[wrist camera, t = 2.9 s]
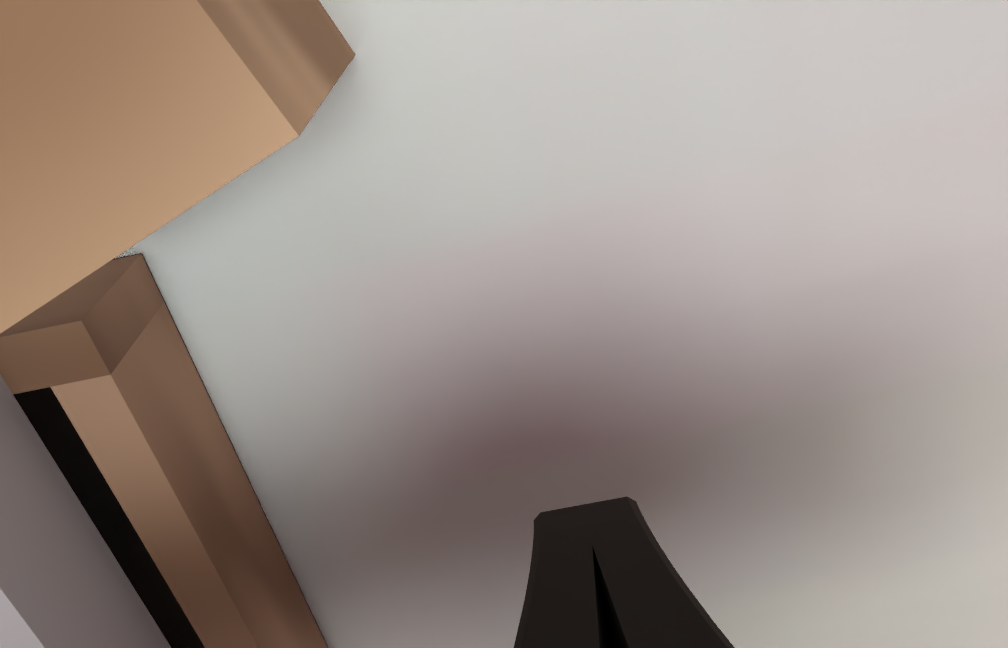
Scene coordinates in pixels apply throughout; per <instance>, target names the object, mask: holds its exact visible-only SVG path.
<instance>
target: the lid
mask: <svg viewBox="0 0 1008 648" xmlns="http://www.w3.org/2000/svg"><path fill="white" fill-rule="evenodd" d="M0 648H171V646H170V645H169V643H168V642H167V640H166V638H165V637H164V635H163V634H162V632H161V630H160V629H159V627H158V626H157V624H156V622H155V621H154V619H153V618H152V616H151V614H150V613H149V611H148V610H147V608H146V606H145V605H144V603H143V602H142V600H141V598H140V597H139V595H138V594H137V592H136V590H135V589H134V587H133V586H132V584H131V582H130V581H129V579H128V578H127V576H126V574H125V573H124V571H123V570H122V568H121V566H120V565H119V563H118V562H117V560H116V558H115V557H114V555H113V554H112V552H111V550H110V549H109V547H108V546H107V544H106V542H105V541H104V539H103V538H102V536H101V534H100V533H99V531H98V530H97V528H96V526H95V525H94V523H93V522H92V520H91V518H90V517H89V515H88V514H87V512H86V510H85V509H84V507H83V506H82V504H81V502H80V501H79V499H78V498H77V496H76V494H75V493H74V491H73V490H72V488H71V487H70V485H69V483H68V482H67V480H66V479H65V477H64V475H63V474H62V472H61V471H60V469H59V467H58V466H57V464H56V463H55V461H54V459H53V458H52V456H51V455H50V453H49V451H48V450H47V448H46V447H45V445H44V443H43V442H42V440H41V439H40V437H39V435H38V434H37V432H36V431H35V429H34V427H33V426H32V424H31V423H30V421H29V419H28V418H27V416H26V415H25V413H24V411H23V410H22V408H21V407H20V405H19V403H18V402H17V400H16V399H15V397H14V395H13V394H12V392H11V391H10V389H9V387H8V386H7V384H6V383H5V381H4V379H3V378H2V376H1V375H0Z"/></svg>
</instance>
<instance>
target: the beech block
mask: <svg viewBox="0 0 1008 648" xmlns="http://www.w3.org/2000/svg"><path fill="white" fill-rule="evenodd" d="M354 56H355V53H354V52H353V50H352V49H351V47H350V46H349V44H348V43H347V41H346V40H345V38H344V37H343V35H342V34H341V33H340V31H339V30H338V28H337V27H336V25H335V24H334V22H333V21H332V19H331V18H330V16H329V15H328V13H327V12H326V10H325V9H324V7H323V6H322V5H321V3H320V2H319V0H0V333H2V332H3V331H5V330H7V329H8V328H10V327H11V326H13V325H14V324H16V323H17V322H19V321H20V320H22V319H23V318H25V317H26V316H28V315H29V314H31V313H32V312H34V311H35V310H37V309H38V308H40V307H41V306H43V305H44V304H46V303H47V302H49V301H50V300H52V299H53V298H55V297H56V296H58V295H59V294H61V293H62V292H64V291H65V290H67V289H68V288H70V287H71V286H73V285H74V284H76V283H77V282H79V281H81V280H82V279H84V278H85V277H87V276H88V275H90V274H91V273H93V272H94V271H96V270H97V269H99V268H100V267H102V266H103V265H105V264H106V263H108V262H109V261H111V260H112V259H114V258H115V257H117V256H118V255H120V254H121V253H123V252H124V251H126V250H127V249H129V248H130V247H132V246H133V245H135V244H136V243H138V242H139V241H141V240H142V239H144V238H145V237H147V236H148V235H150V234H151V233H153V232H155V231H156V230H158V229H159V228H161V227H162V226H164V225H165V224H167V223H168V222H170V221H171V220H173V219H174V218H176V217H177V216H179V215H180V214H182V213H183V212H185V211H186V210H188V209H189V208H191V207H192V206H194V205H195V204H197V203H198V202H200V201H201V200H203V199H204V198H206V197H207V196H209V195H210V194H212V193H213V192H215V191H216V190H218V189H219V188H221V187H222V186H224V185H225V184H227V183H229V182H230V181H232V180H233V179H235V178H236V177H238V176H239V175H241V174H242V173H244V172H245V171H247V170H248V169H250V168H251V167H253V166H254V165H256V164H257V163H259V162H260V161H262V160H263V159H265V158H266V157H268V156H269V155H271V154H272V153H274V152H275V151H277V150H278V149H280V148H281V147H283V146H284V145H286V144H287V143H289V142H290V141H292V140H293V139H295V138H296V137H298V136H299V135H300V134H301V132H302V131H303V129H304V128H305V126H306V125H307V123H308V122H309V121H310V119H311V118H312V116H313V115H314V113H315V112H316V111H317V109H318V108H319V106H320V105H321V103H322V102H323V100H324V99H325V98H326V96H327V95H328V93H329V92H330V90H331V89H332V88H333V86H334V85H335V83H336V82H337V80H338V79H339V77H340V76H341V75H342V73H343V72H344V70H345V69H346V67H347V66H348V64H349V63H350V62H351V60H352V59H353V57H354Z"/></svg>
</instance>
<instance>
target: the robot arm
mask: <svg viewBox="0 0 1008 648" xmlns="http://www.w3.org/2000/svg"><path fill="white" fill-rule="evenodd" d="M514 648H734V647H733V645H732V644H731V643H730V642H729V640H728V639H727V638H726V637H725V635H724V634H723V633H722V632H721V630H720V629H719V628H718V627H717V625H716V624H715V623H714V622H713V620H712V619H711V618H710V616H709V615H708V614H707V612H706V611H705V610H704V608H703V607H702V606H701V604H700V603H699V602H698V600H697V599H696V598H695V596H694V595H693V594H692V592H691V591H690V590H689V588H688V587H687V586H686V584H685V583H684V581H683V580H682V579H681V577H680V576H679V574H678V573H677V571H676V570H675V568H674V567H673V565H672V564H671V562H670V561H669V559H668V558H667V556H666V555H665V553H664V552H663V550H662V549H661V547H660V545H659V544H658V542H657V541H656V539H655V537H654V536H653V534H652V532H651V530H650V529H649V527H648V525H647V523H646V521H645V519H644V518H643V516H642V514H641V512H640V510H639V507H638V505H637V503H636V501H634V500H632V499H630V498H629V497H622V498H617V499H612V500H606V501H601V502H595V503H590V504H584V505H579V506H574V507H568V508H563V509H557V510H552V511H546V512H541V513H540V514H539V515H538V516H537V517H536V518H535V519H534V539H533V550H532V559H531V566H530V573H529V579H528V584H527V590H526V596H525V601H524V605H523V609H522V614H521V618H520V623H519V627H518V631H517V636H516V640H515V645H514Z"/></svg>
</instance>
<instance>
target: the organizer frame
mask: <svg viewBox="0 0 1008 648" xmlns="http://www.w3.org/2000/svg"><path fill="white" fill-rule="evenodd" d="M0 375H1V376H2V378H3V379H4V381H5V383H6V384H7V386H8V387H9V389H10V391H11V392H12V394H18V393H23V392H28V391H33V390H38V389H43V388H48V387H51V389H52V391H53V392H54V394H55V396H56V397H57V399H58V401H59V402H60V404H61V406H62V407H63V409H64V411H65V412H66V414H67V416H68V418H69V419H70V421H71V423H72V424H73V426H74V428H75V429H76V431H77V433H78V434H79V436H80V438H81V439H82V441H83V443H84V445H85V446H86V448H87V450H88V451H89V453H90V455H91V456H92V458H93V460H94V461H95V463H96V465H97V466H98V468H99V470H100V472H101V473H102V475H103V477H104V478H105V480H106V482H107V483H108V485H109V487H110V488H111V490H112V492H113V493H114V495H115V497H116V499H117V500H118V502H119V504H120V505H121V507H122V509H123V510H124V512H125V514H126V515H127V517H128V519H129V520H130V522H131V524H132V526H133V527H134V529H135V531H136V532H137V534H138V536H139V537H140V539H141V541H142V542H143V544H144V546H145V547H146V549H147V551H148V552H149V554H150V556H151V558H152V559H153V561H154V563H155V564H156V566H157V568H158V569H159V571H160V573H161V574H162V576H163V578H164V579H165V581H166V583H167V585H168V586H169V588H170V590H171V591H172V593H173V595H174V596H175V598H176V600H177V601H178V603H179V605H180V606H181V608H182V610H183V612H184V613H185V615H186V617H187V618H188V620H189V622H190V623H191V625H192V627H193V628H194V630H195V632H196V633H197V635H198V637H199V639H200V640H201V642H202V644H203V645H204V647H205V648H328V647H327V645H326V643H325V641H324V639H323V637H322V635H321V633H320V631H319V628H318V626H317V624H316V622H315V620H314V618H313V616H312V614H311V611H310V609H309V607H308V605H307V603H306V601H305V599H304V597H303V595H302V592H301V590H300V588H299V586H298V584H297V582H296V580H295V578H294V576H293V573H292V571H291V569H290V567H289V565H288V563H287V561H286V559H285V557H284V554H283V552H282V550H281V548H280V546H279V544H278V542H277V540H276V537H275V535H274V533H273V531H272V529H271V527H270V525H269V523H268V521H267V518H266V516H265V514H264V512H263V510H262V508H261V506H260V504H259V502H258V499H257V497H256V495H255V493H254V491H253V489H252V487H251V485H250V482H249V480H248V478H247V476H246V474H245V472H244V470H243V468H242V466H241V463H240V461H239V459H238V457H237V455H236V453H235V451H234V449H233V447H232V444H231V442H230V440H229V438H228V436H227V434H226V432H225V430H224V427H223V425H222V423H221V421H220V419H219V417H218V415H217V413H216V411H215V408H214V406H213V404H212V402H211V400H210V398H209V396H208V394H207V392H206V389H205V387H204V385H203V383H202V381H201V379H200V377H199V375H198V372H197V370H196V368H195V366H194V364H193V362H192V360H191V358H190V356H189V353H188V351H187V349H186V347H185V345H184V343H183V341H182V339H181V337H180V334H179V332H178V330H177V328H176V326H175V324H174V322H173V320H172V318H171V315H170V313H169V311H168V309H167V307H166V305H165V303H164V301H163V298H162V296H161V294H160V292H159V290H158V288H157V286H156V284H155V282H154V279H153V277H152V275H151V273H150V271H149V269H148V267H147V265H146V263H145V260H144V258H143V256H142V254H137V255H133V256H128V257H123V258H118V259H113V260H111V261H109V262H108V263H106V264H105V265H103V266H102V267H100V268H99V269H97V270H96V271H94V272H93V273H91V274H90V275H88V276H87V277H85V278H84V279H82V280H81V281H79V282H77V283H76V284H74V285H73V286H71V287H70V288H68V289H67V290H65V291H64V292H62V293H61V294H59V295H58V296H56V297H55V298H53V299H52V300H50V301H49V302H47V303H46V304H44V305H43V306H41V307H40V308H38V309H37V310H35V311H34V312H32V313H31V314H29V315H28V316H26V317H25V318H23V319H22V320H20V321H19V322H17V323H16V324H14V325H13V326H11V327H10V328H8V329H7V330H5V331H3V332H2V333H0Z"/></svg>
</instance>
